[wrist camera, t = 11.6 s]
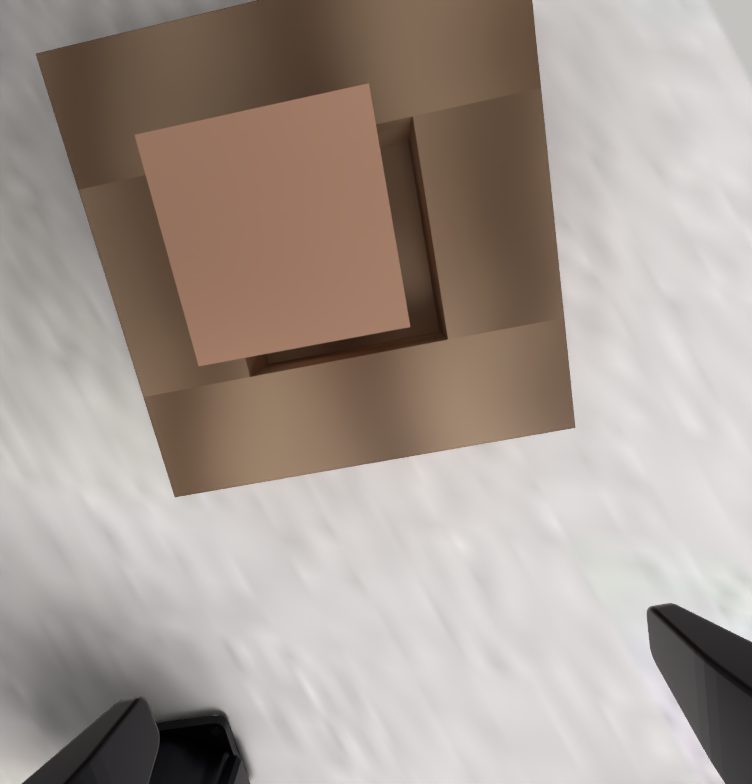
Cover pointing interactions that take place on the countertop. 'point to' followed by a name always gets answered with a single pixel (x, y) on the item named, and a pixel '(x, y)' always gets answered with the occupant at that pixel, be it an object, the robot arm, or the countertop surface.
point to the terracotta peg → (278, 225)
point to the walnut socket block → (409, 216)
